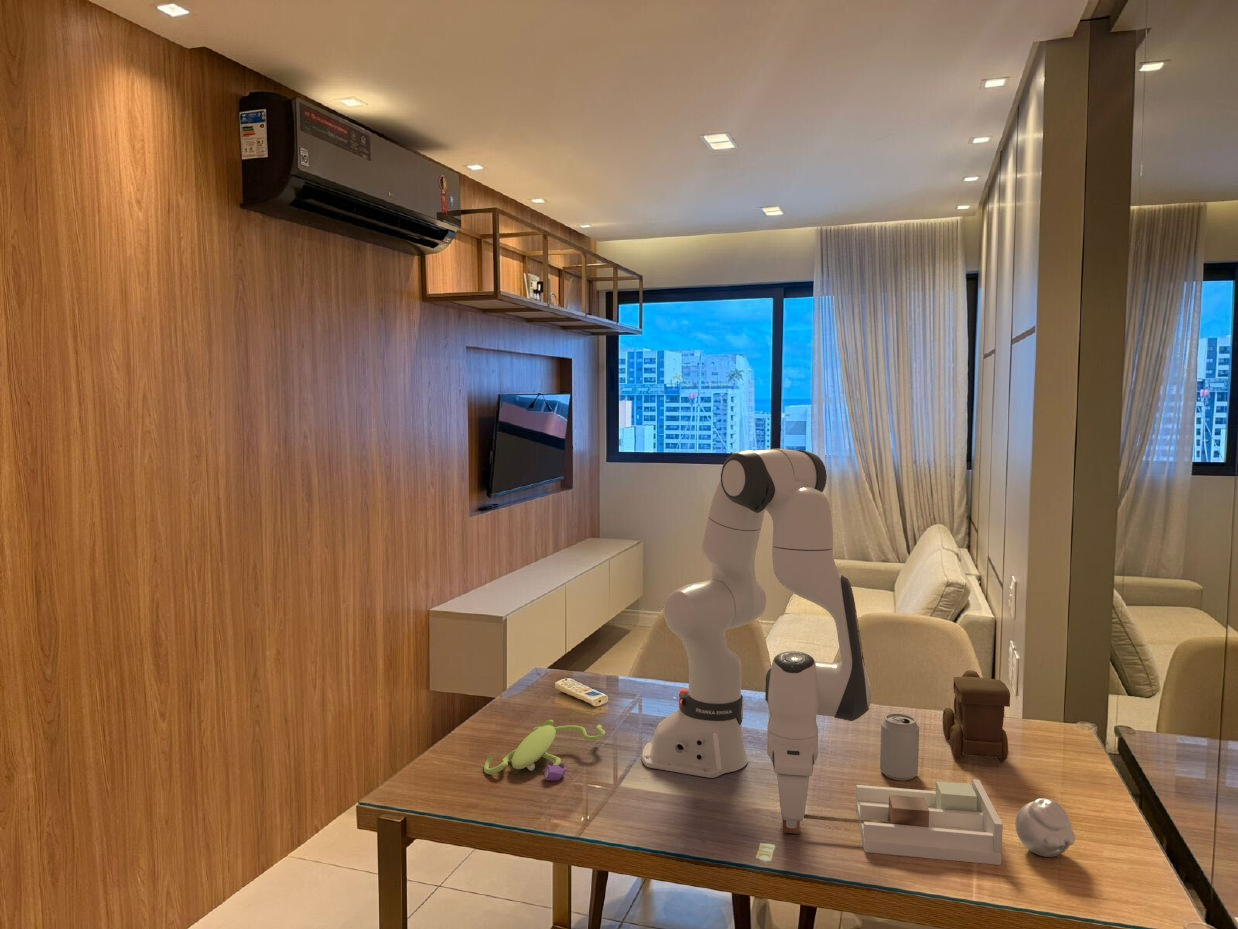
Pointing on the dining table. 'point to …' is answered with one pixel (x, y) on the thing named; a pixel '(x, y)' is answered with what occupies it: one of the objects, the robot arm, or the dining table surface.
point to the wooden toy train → (977, 717)
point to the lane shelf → (931, 828)
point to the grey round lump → (1044, 828)
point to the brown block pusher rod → (900, 813)
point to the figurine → (540, 750)
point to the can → (899, 746)
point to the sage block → (955, 797)
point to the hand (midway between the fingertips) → (790, 821)
